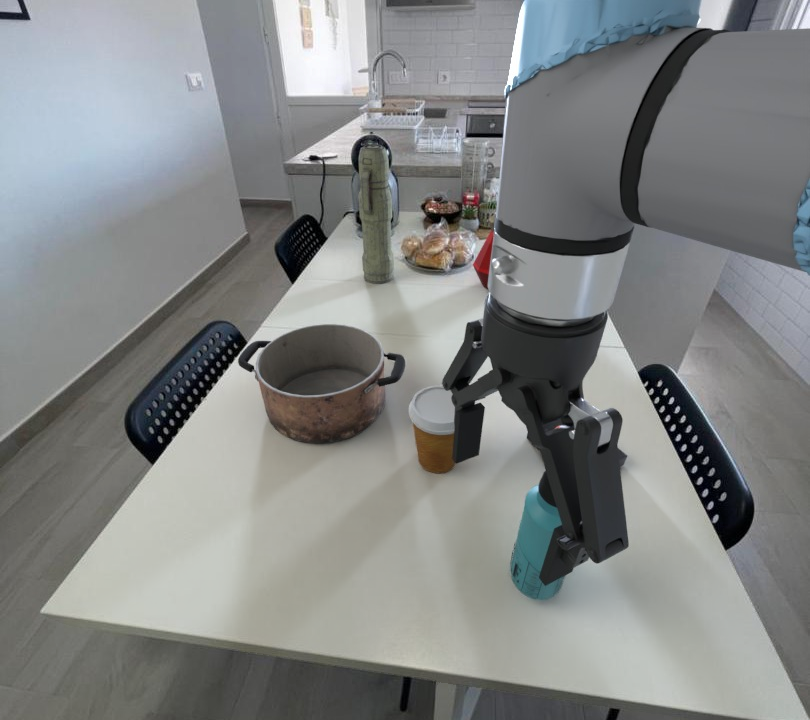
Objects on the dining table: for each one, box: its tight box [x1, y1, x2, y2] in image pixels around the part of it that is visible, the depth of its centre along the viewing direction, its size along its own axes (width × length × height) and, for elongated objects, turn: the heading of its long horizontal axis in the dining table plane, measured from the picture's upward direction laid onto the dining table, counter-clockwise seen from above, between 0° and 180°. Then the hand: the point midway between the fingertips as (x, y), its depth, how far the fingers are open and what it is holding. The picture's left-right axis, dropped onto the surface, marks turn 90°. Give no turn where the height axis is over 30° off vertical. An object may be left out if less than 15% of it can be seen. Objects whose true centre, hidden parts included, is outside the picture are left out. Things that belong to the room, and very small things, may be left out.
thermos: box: [358, 143, 395, 285], centre depth 120 cm, size 9×12×35 cm
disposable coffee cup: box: [408, 384, 457, 474], centre depth 70 cm, size 10×10×12 cm
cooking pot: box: [237, 323, 406, 444], centre depth 82 cm, size 30×22×11 cm
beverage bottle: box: [509, 470, 567, 601], centre depth 51 cm, size 6×7×20 cm
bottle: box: [472, 213, 496, 290], centre depth 120 cm, size 16×14×20 cm
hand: (504, 508), depth 40 cm, fingers open, 13 cm apart
